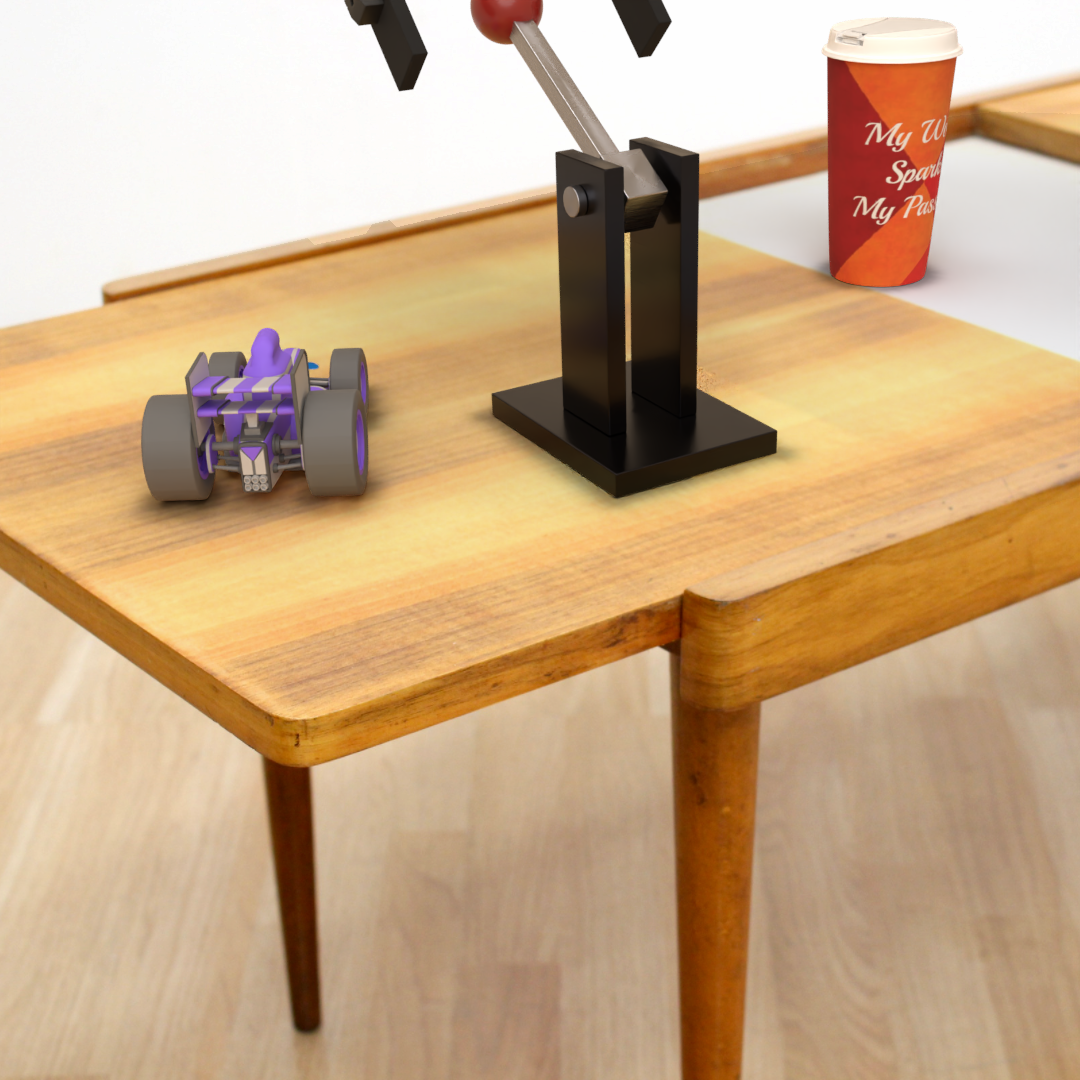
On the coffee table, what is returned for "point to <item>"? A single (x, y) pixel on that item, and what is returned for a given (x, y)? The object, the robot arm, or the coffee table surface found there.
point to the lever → (571, 103)
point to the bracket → (656, 339)
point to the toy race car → (260, 423)
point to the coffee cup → (886, 144)
